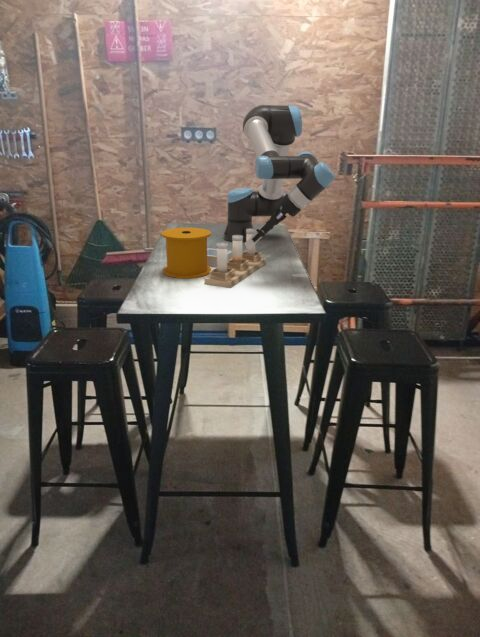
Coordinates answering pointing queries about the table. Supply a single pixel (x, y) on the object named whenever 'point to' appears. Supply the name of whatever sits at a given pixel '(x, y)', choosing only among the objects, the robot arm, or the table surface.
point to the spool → (186, 252)
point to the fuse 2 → (248, 235)
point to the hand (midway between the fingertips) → (250, 242)
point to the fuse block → (236, 271)
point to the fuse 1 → (222, 257)
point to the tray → (215, 257)
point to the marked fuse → (237, 249)
